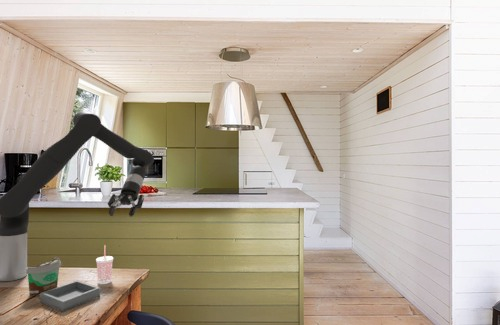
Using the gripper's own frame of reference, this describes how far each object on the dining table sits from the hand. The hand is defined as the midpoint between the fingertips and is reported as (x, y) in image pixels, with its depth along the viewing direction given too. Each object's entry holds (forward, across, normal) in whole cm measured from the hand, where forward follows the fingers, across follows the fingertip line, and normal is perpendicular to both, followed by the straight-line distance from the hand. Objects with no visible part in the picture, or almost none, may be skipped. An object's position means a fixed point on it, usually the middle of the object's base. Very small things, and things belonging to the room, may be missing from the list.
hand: (120, 215), depth 133 cm
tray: (+36, -3, -3) cm, 36 cm away
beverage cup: (+25, 0, +8) cm, 26 cm away
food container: (+32, -15, +1) cm, 36 cm away
